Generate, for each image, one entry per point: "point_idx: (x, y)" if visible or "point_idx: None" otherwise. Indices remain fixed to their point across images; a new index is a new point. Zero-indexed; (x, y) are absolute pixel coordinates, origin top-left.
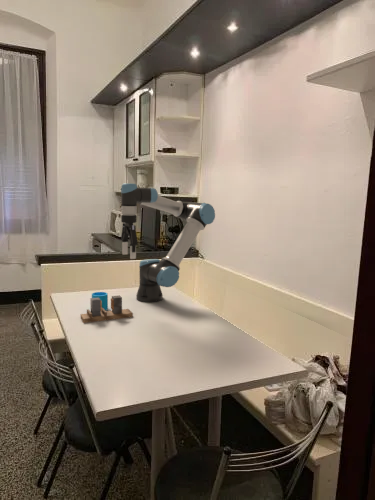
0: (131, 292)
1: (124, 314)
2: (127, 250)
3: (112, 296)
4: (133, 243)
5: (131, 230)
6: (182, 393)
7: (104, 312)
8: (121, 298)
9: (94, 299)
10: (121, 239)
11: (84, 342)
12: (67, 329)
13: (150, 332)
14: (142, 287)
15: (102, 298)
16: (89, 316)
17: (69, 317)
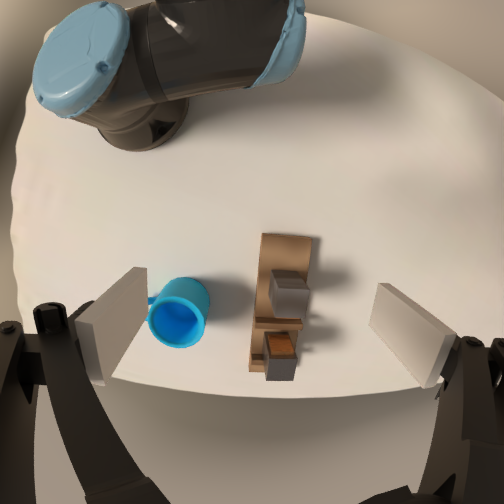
0: (55, 144)
1: (308, 266)
2: (133, 282)
3: (280, 316)
4: (493, 383)
5: None
6: None
7: (299, 329)
8: (308, 290)
9: (286, 373)
10: (37, 383)
11: (390, 376)
12: (310, 397)
13: (425, 244)
14: (137, 128)
15: (205, 318)
16: None
17: (229, 383)
